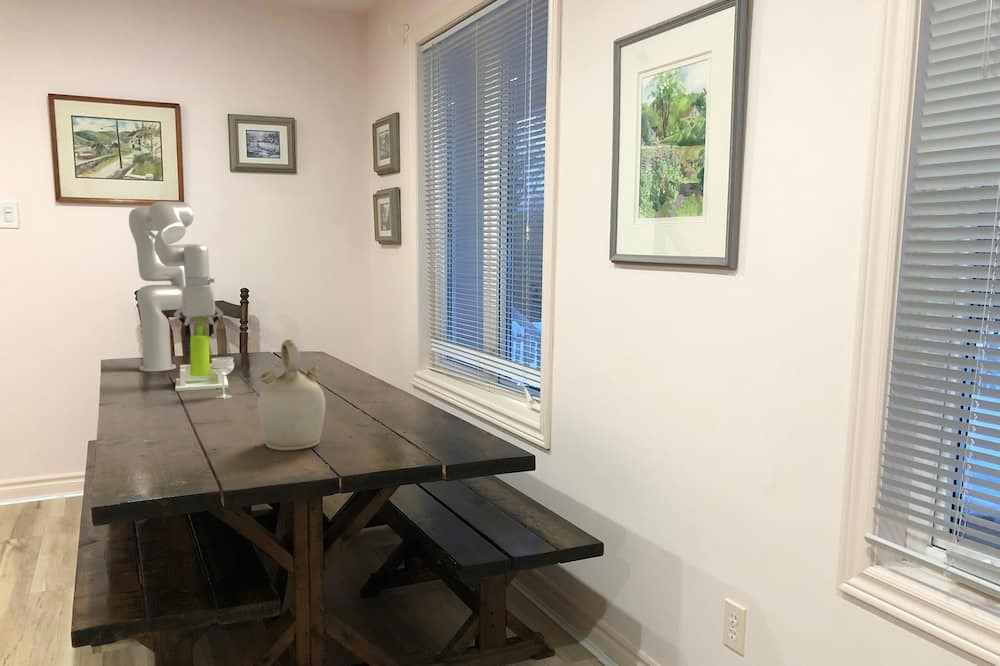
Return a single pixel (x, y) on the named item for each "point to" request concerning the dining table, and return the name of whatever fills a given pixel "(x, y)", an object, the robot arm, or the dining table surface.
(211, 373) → the u rest
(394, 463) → the dining table surface
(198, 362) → the soap dispenser
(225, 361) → the wineglass
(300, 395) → the jug
